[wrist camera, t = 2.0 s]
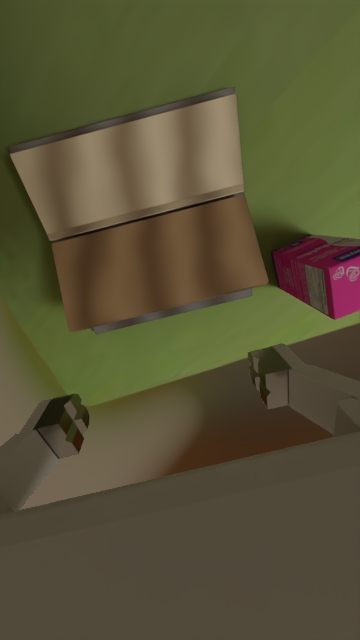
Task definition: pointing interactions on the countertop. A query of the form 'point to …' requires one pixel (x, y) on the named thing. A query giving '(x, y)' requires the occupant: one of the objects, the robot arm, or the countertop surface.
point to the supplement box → (321, 273)
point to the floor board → (136, 173)
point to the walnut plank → (159, 263)
